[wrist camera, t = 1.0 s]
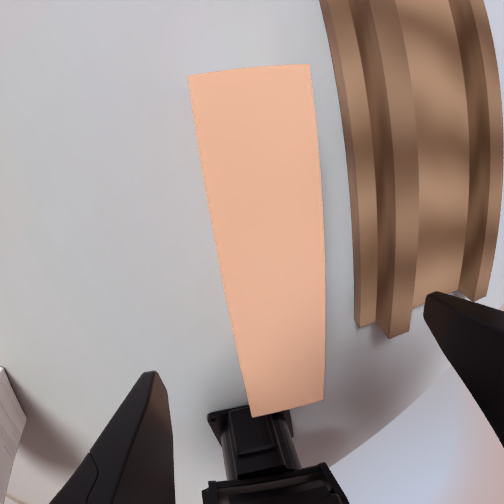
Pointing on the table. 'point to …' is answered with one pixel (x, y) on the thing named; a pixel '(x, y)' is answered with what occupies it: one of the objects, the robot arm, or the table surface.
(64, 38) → the table surface
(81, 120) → the table surface
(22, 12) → the table surface
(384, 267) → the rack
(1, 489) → the supplement box
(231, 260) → the peach rectangular block
